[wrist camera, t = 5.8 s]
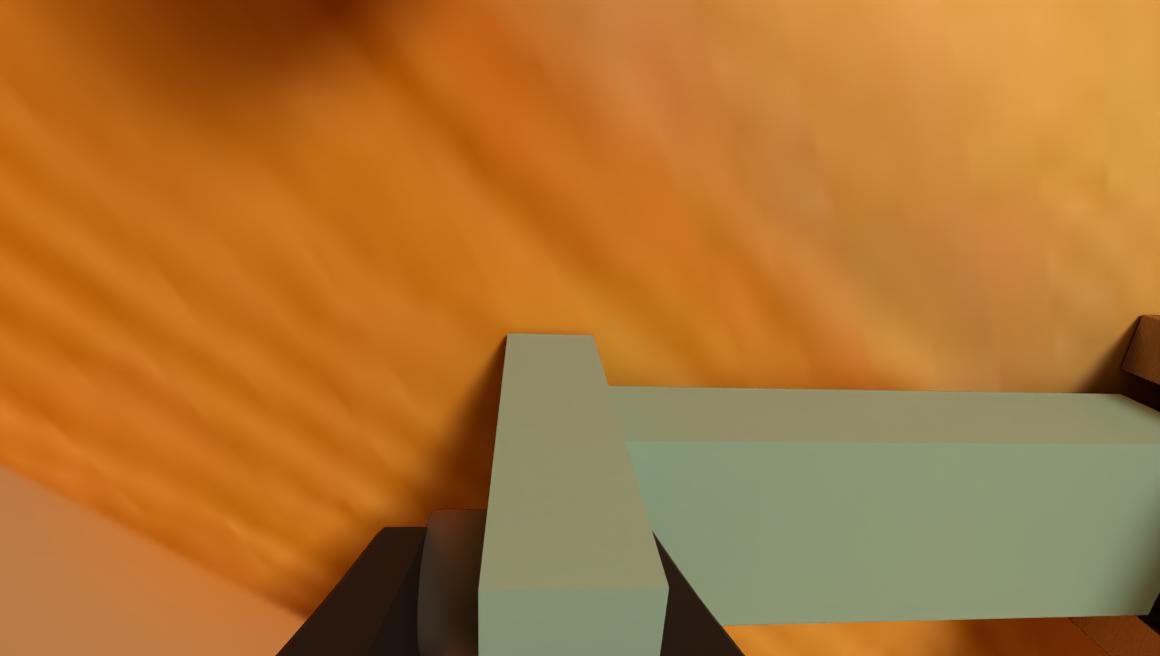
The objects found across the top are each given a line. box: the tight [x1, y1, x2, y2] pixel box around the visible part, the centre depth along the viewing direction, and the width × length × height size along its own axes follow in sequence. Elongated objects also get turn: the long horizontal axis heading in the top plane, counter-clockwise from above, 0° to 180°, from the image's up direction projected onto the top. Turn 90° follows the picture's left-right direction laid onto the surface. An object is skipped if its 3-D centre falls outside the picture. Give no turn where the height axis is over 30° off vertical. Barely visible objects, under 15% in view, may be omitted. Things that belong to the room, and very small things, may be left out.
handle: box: [417, 333, 1160, 656], centre depth 9 cm, size 14×6×6 cm, turn 87°
